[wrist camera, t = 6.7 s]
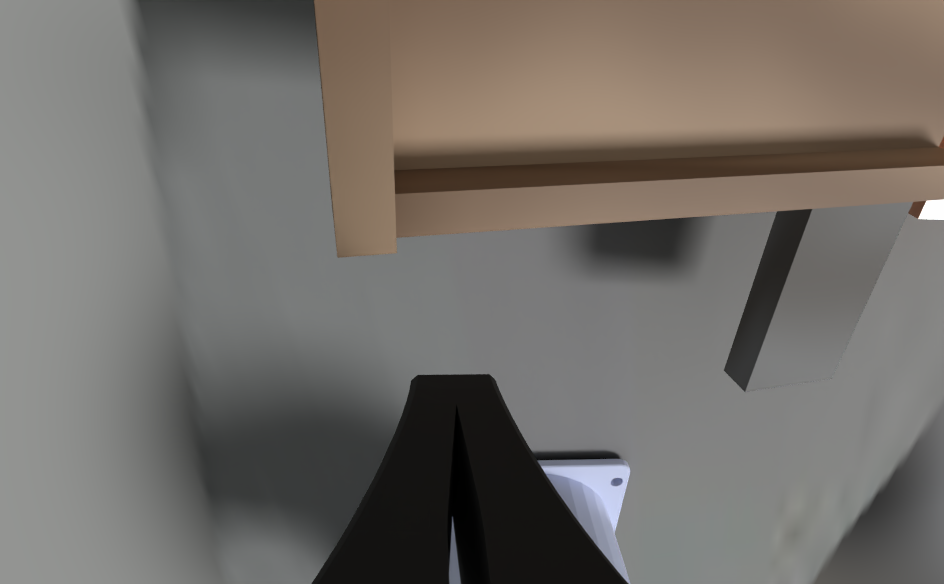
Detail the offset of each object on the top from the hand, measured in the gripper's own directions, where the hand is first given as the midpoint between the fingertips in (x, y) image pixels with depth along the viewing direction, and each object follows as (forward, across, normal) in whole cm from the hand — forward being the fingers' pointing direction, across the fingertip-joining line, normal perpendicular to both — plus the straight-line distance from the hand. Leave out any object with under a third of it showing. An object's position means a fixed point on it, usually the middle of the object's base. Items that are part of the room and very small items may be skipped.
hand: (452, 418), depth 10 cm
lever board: (+5, -5, -3) cm, 7 cm away
